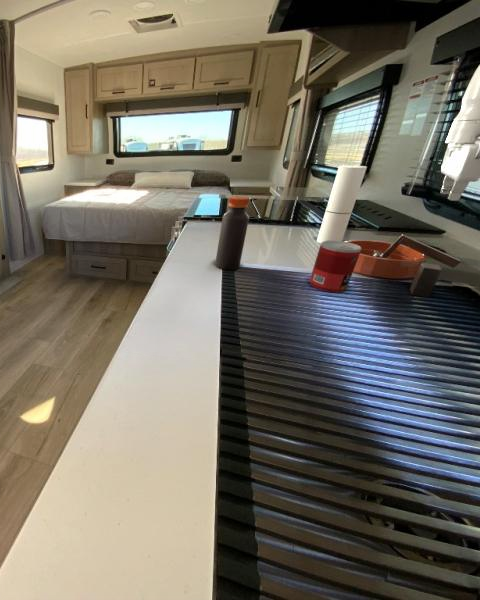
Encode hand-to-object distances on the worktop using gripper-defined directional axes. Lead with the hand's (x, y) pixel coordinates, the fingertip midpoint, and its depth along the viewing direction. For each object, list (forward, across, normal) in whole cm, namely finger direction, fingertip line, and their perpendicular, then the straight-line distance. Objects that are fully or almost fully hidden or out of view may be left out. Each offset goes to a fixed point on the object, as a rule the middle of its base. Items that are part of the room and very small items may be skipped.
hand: (448, 196), depth 81 cm
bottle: (+20, -21, +44) cm, 53 cm away
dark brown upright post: (+20, -15, +1) cm, 25 cm away
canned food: (+20, -22, +19) cm, 36 cm away
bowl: (+20, 0, +9) cm, 22 cm away
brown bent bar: (+21, 0, +4) cm, 21 cm away
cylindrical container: (+20, +22, +21) cm, 36 cm away
